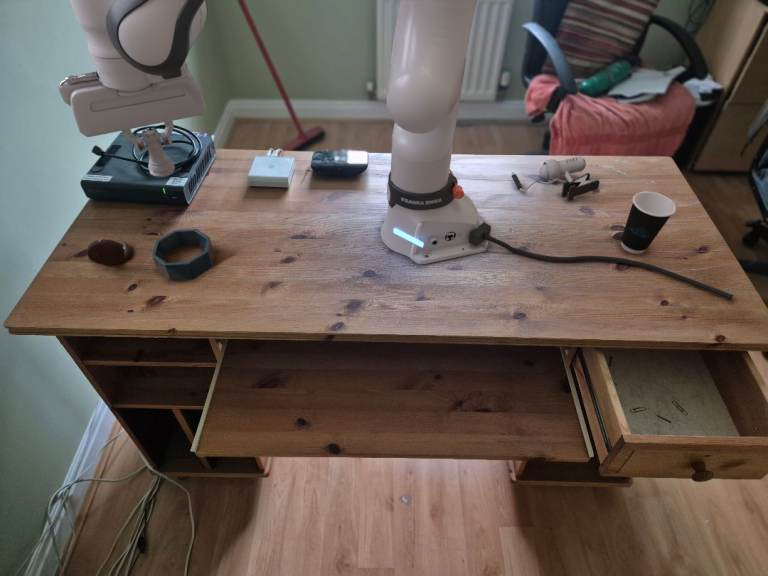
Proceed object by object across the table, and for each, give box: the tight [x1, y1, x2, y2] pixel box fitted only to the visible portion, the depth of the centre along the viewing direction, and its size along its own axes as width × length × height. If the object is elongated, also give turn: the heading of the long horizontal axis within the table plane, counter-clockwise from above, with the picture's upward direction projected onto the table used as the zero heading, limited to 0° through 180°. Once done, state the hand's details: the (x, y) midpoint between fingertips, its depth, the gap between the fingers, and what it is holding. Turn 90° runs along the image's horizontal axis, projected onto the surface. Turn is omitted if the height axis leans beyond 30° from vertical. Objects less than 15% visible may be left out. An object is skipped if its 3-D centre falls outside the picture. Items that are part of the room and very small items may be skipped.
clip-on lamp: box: [511, 156, 601, 202], centre depth 116 cm, size 12×6×18 cm
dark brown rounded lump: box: [85, 237, 132, 266], centre depth 95 cm, size 8×8×7 cm
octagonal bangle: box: [151, 228, 216, 282], centre depth 96 cm, size 10×10×4 cm
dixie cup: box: [620, 191, 677, 255], centre depth 100 cm, size 8×8×11 cm
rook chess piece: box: [140, 127, 176, 178], centre depth 89 cm, size 4×4×8 cm
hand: (154, 146), depth 88 cm, fingers closed on rook chess piece, 3 cm apart
